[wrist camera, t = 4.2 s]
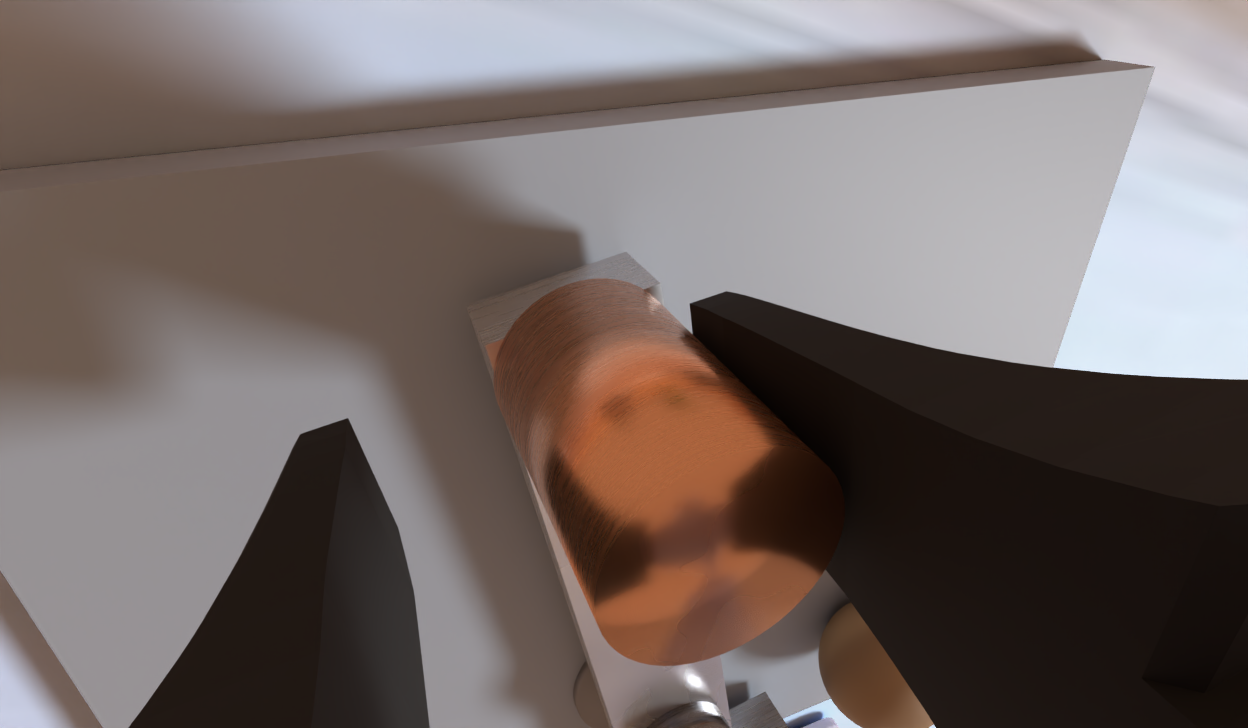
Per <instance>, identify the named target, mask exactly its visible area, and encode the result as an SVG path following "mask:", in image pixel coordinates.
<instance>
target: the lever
mask: <svg viewBox="0 0 1248 728" xmlns="http://www.w3.org/2000/svg"><path fill="white" fill-rule="evenodd" d="M466 308H467V311H468V314H469V317H470V319H471V322H472V325H473V328H474V331H475V334H476V337H477V340H478V343H479V346H480V349H481V352H482V355H483V358H484V361H485V364H486V366H487V369H488V372H489V375H490V378H491V381H492V384H493V387H494V392H495V396H496V400H497V403H498V406H499V408H500V410H501V412H502V415H503V417H504V419H505V422H506V425H507V428H508V431H509V434H510V437H511V440H512V443H513V446H514V449H515V452H516V455H517V457H518V460H519V463H520V466H521V469H522V472H523V475H524V478H525V481H526V484H527V487H528V490H529V493H530V496H531V499H532V502H533V504H534V507H535V510H536V513H537V516H538V519H539V522H540V525H541V528H542V531H543V534H544V537H545V540H546V543H547V546H548V549H549V551H550V554H551V557H552V560H553V563H554V566H555V569H556V572H557V575H558V578H559V581H560V584H561V587H562V590H563V593H564V596H565V598H566V601H567V604H568V607H569V610H570V613H571V616H572V619H573V622H574V625H575V628H576V631H577V634H578V637H579V640H580V642H581V645H582V648H583V651H584V654H585V657H586V660H587V663H588V666H589V669H590V672H591V675H592V678H593V681H594V684H595V687H596V689H597V692H598V695H599V698H600V701H601V704H602V707H603V710H604V713H605V716H606V719H607V722H608V725H609V728H788V726H787V725H786V723H785V722H784V720H783V718H782V717H781V715H780V714H779V712H778V711H777V709H776V707H775V706H774V704H773V703H772V701H771V700H770V698H769V696H768V695H767V693H766V692H763V693H761V694H759V695H757V696H755V697H753V698H751V699H750V700H748V701H746V702H744V703H742V704H740V705H738V706H736V707H734V708H732V709H730V710H729V706H728V700H727V694H726V688H725V682H724V675H723V669H722V663H721V657H720V655H722V654H724V653H726V652H729V651H731V650H733V649H735V648H738V647H739V646H741V645H743V644H745V643H747V642H749V641H751V640H752V639H754V638H755V637H757V636H759V635H760V634H762V633H763V632H765V631H766V630H768V629H769V628H770V627H772V626H773V625H774V624H776V623H777V622H778V621H780V620H781V619H782V618H783V617H784V616H785V615H787V614H788V613H789V612H790V611H791V610H792V609H793V608H794V607H795V606H796V605H797V604H798V603H799V602H800V601H801V600H802V599H803V598H804V597H805V596H806V595H807V594H808V592H809V591H810V590H811V589H812V588H813V587H814V585H815V584H816V582H817V581H818V580H819V578H820V577H821V576H822V574H823V572H824V571H825V569H826V567H827V566H828V564H829V562H830V561H831V559H832V557H833V554H834V552H835V550H836V548H837V545H838V542H839V540H840V537H841V533H842V529H843V524H844V515H845V504H844V496H843V492H842V488H841V485H840V483H839V481H838V479H837V477H836V475H835V474H834V473H833V472H832V470H831V469H830V468H829V467H828V466H827V465H826V464H825V463H824V462H823V461H822V460H821V459H820V458H819V457H818V456H817V455H816V454H815V453H814V452H813V451H812V450H811V449H810V448H809V447H808V446H807V445H806V444H805V443H804V442H803V441H802V440H801V439H800V438H799V437H798V436H796V435H795V434H794V433H793V432H792V431H791V430H790V429H789V428H788V427H787V426H786V425H785V424H784V423H783V422H782V421H781V420H780V419H779V418H778V417H777V416H776V415H775V414H774V413H773V412H772V411H771V410H770V409H769V408H768V407H767V406H766V405H765V404H764V403H763V402H762V401H761V400H760V399H758V398H757V397H756V396H755V395H754V394H753V393H752V392H751V391H750V390H749V389H748V388H747V387H746V386H745V385H744V384H743V383H742V382H741V381H740V380H739V379H738V378H737V377H736V376H735V375H734V374H733V373H732V372H731V371H730V370H729V369H728V368H727V367H726V366H725V365H724V364H723V363H722V362H721V361H719V360H718V359H717V358H716V357H715V356H714V355H713V354H712V353H711V352H710V351H709V350H708V349H707V348H706V347H705V346H704V345H703V344H702V343H701V342H700V341H699V340H698V339H697V338H696V337H695V336H694V335H693V334H692V333H691V332H690V331H689V330H688V329H687V328H686V327H685V326H684V325H683V324H681V323H680V322H679V321H678V320H677V319H676V318H675V317H674V316H673V315H672V314H671V313H670V312H669V311H668V310H667V309H666V308H665V307H664V301H663V295H662V289H661V283H660V282H659V281H658V280H656V279H655V278H654V277H653V276H652V275H651V274H650V273H649V272H648V271H647V270H646V269H644V268H643V267H642V266H641V265H640V264H639V263H638V262H637V261H636V260H635V259H634V258H633V257H631V256H630V255H629V254H628V253H627V252H623V253H620V254H617V255H615V256H612V257H609V258H606V259H603V260H600V261H597V262H594V263H591V264H588V265H585V266H582V267H579V268H576V269H573V270H570V271H567V272H564V273H561V274H558V275H555V276H553V277H550V278H547V279H544V280H541V281H538V282H535V283H532V284H529V285H526V286H523V287H520V288H517V289H514V290H511V291H508V292H505V293H502V294H499V295H496V296H493V297H490V298H488V299H485V300H482V301H479V302H476V303H473V304H470V305H467V306H466Z"/></svg>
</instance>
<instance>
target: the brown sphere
mask: <svg viewBox="0 0 1248 728" xmlns="http://www.w3.org/2000/svg"><path fill="white" fill-rule="evenodd" d="M818 661H819V669H820V674H821V677H822V681H823V684H824V686H825V688H826V691H827V693H828V694H829V696H830V698H831V699H832V701H833V702H834V704H835V705H836V706H837V707H838V709H839V710H840V711H841V712H842V713H843V714H844V715H845V716H846V717H848V718H849V719H850V720H851V721H853V722H854V723H855V724H857V725H859V726H861V727H862V728H929V727H930V726H932V725H933V724H934V723H933V722H932V720H931V719H930V717H929V716H928V714H927V712H926V711H925V709H924V708H923V706H922V705H921V703H920V702H919V700H918V699H917V698H916V696H915V695H914V693H913V692H912V690H911V689H910V687H909V686H908V684H907V683H906V681H905V680H904V678H903V677H902V675H901V674H900V672H899V671H898V669H897V668H896V666H895V665H894V663H893V662H892V660H891V659H890V657H889V656H888V654H887V653H886V651H885V650H884V648H883V647H882V646H881V644H880V643H879V641H878V640H877V638H876V637H875V636H874V634H873V633H872V631H871V630H870V629H869V627H868V626H867V624H866V623H865V621H864V620H863V619H862V617H861V616H860V614H859V613H858V612H857V610H856V609H855V607H854V606H853V604H852V603H851V602H850V603H848V604H846V605H845V606H843V607H842V608H841V609H839V610H838V611H837V612H836V613H835V614H834V615H833V616H832V618H831V619H830V620H829V622H828V623H827V625H826V627H825V629H824V631H823V633H822V637H821V640H820V644H819V652H818Z"/></svg>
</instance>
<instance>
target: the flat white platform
mask: <svg viewBox="0 0 1248 728" xmlns="http://www.w3.org/2000/svg"><path fill="white" fill-rule="evenodd" d="M1154 69H1155V67H1152V66H1145V65H1138V64H1131V63H1124V62H1117V61H1110V60H1096V61H1086V62H1076V63H1066V64H1056V65H1046V66H1036V67H1026V68H1016V69H1007V70H997V71H987V72H977V73H967V74H957V75H947V76H937V77H927V78H917V79H907V80H897V81H887V82H877V83H867V84H857V85H847V86H837V87H827V88H817V89H807V90H797V91H787V92H777V93H767V94H757V95H747V96H737V97H727V98H717V99H707V100H697V101H687V102H677V103H667V104H657V105H647V106H637V107H627V108H617V109H607V110H597V111H587V112H577V113H567V114H557V115H547V116H537V117H527V118H517V119H507V120H497V121H487V122H477V123H467V124H457V125H447V126H437V127H427V128H417V129H407V130H397V131H387V132H377V133H367V134H357V135H347V136H337V137H327V138H317V139H307V140H297V141H287V142H277V143H267V144H257V145H247V146H237V147H227V148H217V149H207V150H197V151H187V152H178V153H168V154H158V155H148V156H138V157H128V158H118V159H108V160H98V161H88V162H78V163H68V164H58V165H48V166H38V167H28V168H18V169H8V170H0V571H1V573H2V574H3V576H4V577H5V579H6V580H7V582H8V583H9V585H10V586H11V588H12V589H13V591H14V592H15V594H16V596H17V597H18V599H19V600H20V602H21V603H22V605H23V606H24V608H25V609H26V611H27V612H28V614H29V616H30V617H31V619H32V620H33V622H34V623H35V625H36V626H37V628H38V629H39V631H40V632H41V634H42V635H43V637H44V639H45V640H46V642H47V643H48V645H49V646H50V648H51V649H52V651H53V652H54V654H55V655H56V657H57V658H58V660H59V662H60V663H61V665H62V666H63V668H64V669H65V671H66V672H67V674H68V675H69V677H70V678H71V680H72V681H73V683H74V685H75V686H76V688H77V689H78V691H79V692H80V694H81V695H82V697H83V698H84V700H85V701H86V703H87V704H88V706H89V708H90V709H91V711H92V712H93V714H94V715H95V717H96V718H97V720H98V721H99V723H100V724H101V726H102V727H103V728H128V727H129V726H130V725H131V723H132V722H133V721H134V719H135V718H136V717H137V715H138V714H139V713H140V711H141V710H142V709H143V707H144V706H145V705H146V703H147V702H148V700H149V699H150V698H151V696H152V695H153V693H154V692H155V691H156V689H157V688H158V686H159V685H160V684H161V682H162V681H163V679H164V678H165V677H166V675H167V674H168V672H169V671H170V670H171V668H172V667H173V665H174V664H175V663H176V661H177V660H178V658H179V657H180V655H181V654H182V652H183V651H184V649H185V648H186V646H187V645H188V643H189V642H190V640H191V638H192V637H193V635H194V634H195V632H196V631H197V629H198V627H199V626H200V624H201V623H202V621H203V619H204V617H205V616H206V614H207V612H208V611H209V609H210V607H211V606H212V604H213V602H214V600H215V599H216V597H217V595H218V594H219V592H220V590H221V588H222V587H223V585H224V583H225V582H226V580H227V578H228V576H229V575H230V573H231V571H232V570H233V568H234V566H235V564H236V562H237V560H238V559H239V557H240V555H241V553H242V551H243V549H244V547H245V545H246V543H247V541H248V539H249V537H250V535H251V534H252V532H253V530H254V528H255V526H256V524H257V522H258V520H259V518H260V516H261V514H262V512H263V510H264V508H265V506H266V504H267V502H268V500H269V498H270V495H271V493H272V491H273V489H274V487H275V485H276V483H277V481H278V478H279V476H280V474H281V472H282V470H283V468H284V465H285V463H286V461H287V459H288V457H289V455H290V453H291V450H292V448H293V446H294V444H295V442H296V441H297V439H298V437H299V435H300V434H302V433H305V432H308V431H311V430H313V429H316V428H319V427H322V426H325V425H328V424H331V423H334V422H337V421H340V420H343V419H346V418H348V419H349V421H350V423H351V425H352V428H353V430H354V432H355V434H356V436H357V438H358V441H359V443H360V445H361V447H362V449H363V452H364V454H365V456H366V458H367V460H368V463H369V465H370V467H371V469H372V471H373V474H374V476H375V478H376V480H377V482H378V485H379V487H380V489H381V491H382V493H383V495H384V498H385V500H386V502H387V504H388V506H389V509H390V511H391V513H392V515H393V517H394V520H395V522H396V524H397V526H398V529H399V533H400V537H401V541H402V545H403V549H404V553H405V557H406V560H407V565H408V569H409V573H410V577H411V581H412V585H413V590H414V596H415V604H416V612H417V620H418V629H419V637H420V646H421V655H422V664H423V672H424V681H425V690H426V699H427V708H428V717H429V726H430V728H609V725H608V722H607V719H606V716H605V713H604V710H603V707H602V704H601V701H600V698H599V695H598V692H597V689H596V687H595V684H594V681H593V678H592V675H591V672H590V669H589V666H588V663H587V660H586V657H585V654H584V651H583V648H582V645H581V642H580V640H579V637H578V634H577V631H576V628H575V625H574V622H573V619H572V616H571V613H570V610H569V607H568V604H567V601H566V598H565V596H564V593H563V590H562V587H561V584H560V581H559V578H558V575H557V572H556V569H555V566H554V563H553V560H552V557H551V554H550V551H549V549H548V546H547V543H546V540H545V537H544V534H543V531H542V528H541V525H540V522H539V519H538V516H537V513H536V510H535V507H534V504H533V502H532V499H531V496H530V493H529V490H528V487H527V484H526V481H525V478H524V475H523V472H522V469H521V466H520V463H519V460H518V457H517V455H516V452H515V449H514V446H513V443H512V440H511V437H510V434H509V431H508V428H507V425H506V422H505V419H504V417H503V415H502V412H501V410H500V408H499V406H498V403H497V400H496V396H495V392H494V387H493V384H492V381H491V378H490V375H489V372H488V369H487V366H486V364H485V361H484V358H483V355H482V352H481V349H480V346H479V343H478V340H477V337H476V334H475V331H474V328H473V325H472V322H471V319H470V317H469V314H468V311H467V308H466V306H467V305H470V304H473V303H476V302H479V301H482V300H485V299H488V298H490V297H493V296H496V295H499V294H502V293H505V292H508V291H511V290H514V289H517V288H520V287H523V286H526V285H529V284H532V283H535V282H538V281H541V280H544V279H547V278H550V277H553V276H555V275H558V274H561V273H564V272H567V271H570V270H573V269H576V268H579V267H582V266H585V265H588V264H591V263H594V262H597V261H600V260H603V259H606V258H609V257H612V256H615V255H617V254H620V253H623V252H627V253H628V254H629V255H630V256H631V257H633V258H634V259H635V260H636V261H637V262H638V263H639V264H640V265H641V266H642V267H643V268H644V269H646V270H647V271H648V272H649V273H650V274H651V275H652V276H653V277H654V278H655V279H656V280H658V281H659V282H660V283H661V289H662V295H663V301H664V307H665V308H666V309H667V310H668V311H669V312H670V313H671V314H672V315H673V316H674V317H675V318H676V319H677V320H678V321H679V322H680V323H681V324H683V325H684V326H685V327H686V328H687V329H688V330H689V331H690V332H691V333H692V334H693V332H692V323H691V313H690V303H693V302H696V301H699V300H702V299H705V298H708V297H711V296H714V295H717V294H720V293H723V292H726V291H728V292H733V293H738V294H742V295H746V296H750V297H753V298H757V299H760V300H764V301H767V302H770V303H774V304H777V305H780V306H783V307H787V308H790V309H793V310H796V311H800V312H803V313H806V314H809V315H813V316H816V317H819V318H823V319H826V320H829V321H833V322H836V323H839V324H843V325H846V326H850V327H853V328H857V329H860V330H864V331H868V332H871V333H875V334H879V335H882V336H886V337H890V338H894V339H898V340H903V341H907V342H911V343H915V344H919V345H923V346H927V347H932V348H936V349H941V350H946V351H951V352H956V353H961V354H967V355H973V356H978V357H984V358H990V359H996V360H1002V361H1007V362H1013V363H1020V364H1028V365H1035V366H1043V367H1051V368H1053V366H1054V363H1055V360H1056V357H1057V354H1058V351H1059V348H1060V345H1061V342H1062V339H1063V336H1064V333H1065V330H1066V327H1067V325H1068V322H1069V319H1070V316H1071V313H1072V310H1073V307H1074V304H1075V301H1076V298H1077V295H1078V292H1079V289H1080V286H1081V283H1082V281H1083V278H1084V275H1085V272H1086V269H1087V266H1088V263H1089V260H1090V257H1091V254H1092V251H1093V248H1094V245H1095V242H1096V239H1097V236H1098V234H1099V231H1100V228H1101V225H1102V222H1103V219H1104V216H1105V213H1106V210H1107V207H1108V204H1109V201H1110V198H1111V195H1112V192H1113V190H1114V187H1115V184H1116V181H1117V178H1118V175H1119V172H1120V169H1121V166H1122V163H1123V160H1124V157H1125V154H1126V151H1127V148H1128V146H1129V143H1130V140H1131V137H1132V134H1133V131H1134V128H1135V125H1136V122H1137V119H1138V116H1139V113H1140V110H1141V107H1142V104H1143V101H1144V99H1145V96H1146V93H1147V90H1148V87H1149V84H1150V81H1151V78H1152V75H1153V72H1154ZM848 603H850V600H849V599H848V597H847V596H846V595H845V593H844V592H843V591H842V590H841V588H840V587H839V586H838V585H837V583H836V582H835V581H834V580H833V578H832V577H831V576H830V575H829V573H828V572H827V571H826V570H825V571H824V572H823V574H822V576H821V577H820V578H819V580H818V581H817V582H816V584H815V585H814V587H813V588H812V589H811V590H810V591H809V592H808V594H807V595H806V596H805V597H804V598H803V599H802V600H801V601H800V602H799V603H798V604H797V605H796V606H795V607H794V608H793V609H792V610H791V611H790V612H789V613H788V614H787V615H785V616H784V617H783V618H782V619H781V620H780V621H778V622H777V623H776V624H774V625H773V626H772V627H770V628H769V629H768V630H766V631H765V632H763V633H762V634H760V635H759V636H757V637H755V638H754V639H752V640H751V641H749V642H747V643H745V644H743V645H741V646H739V647H738V648H735V649H733V650H731V651H729V652H726V653H724V654H722V655H720V657H721V663H722V669H723V675H724V682H725V688H726V694H727V700H728V706H729V710H730V709H732V708H734V707H736V706H738V705H740V704H742V703H744V702H746V701H748V700H750V699H751V698H753V697H755V696H757V695H759V694H761V693H763V692H766V693H767V695H768V696H769V698H770V700H771V701H772V703H773V704H774V706H775V707H776V709H777V711H778V712H779V714H780V715H781V717H782V718H785V717H788V716H790V715H792V714H795V713H797V712H799V711H802V710H804V709H807V708H809V707H811V706H814V705H816V704H819V703H821V702H823V701H826V700H828V699H831V698H830V696H829V694H828V693H827V691H826V688H825V686H824V684H823V681H822V677H821V674H820V669H819V661H818V652H819V644H820V640H821V637H822V633H823V631H824V629H825V627H826V625H827V623H828V622H829V620H830V619H831V618H832V616H833V615H834V614H835V613H836V612H837V611H838V610H839V609H841V608H842V607H843V606H845V605H846V604H848Z"/></svg>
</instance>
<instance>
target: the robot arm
mask: <svg viewBox="0 0 1248 728" xmlns="http://www.w3.org/2000/svg"><path fill="white" fill-rule="evenodd" d="M690 313H691V323H692V332H693V335H694V336H695V337H696V338H697V339H698V340H699V341H700V342H701V343H702V344H703V345H704V346H705V347H706V348H707V349H708V350H709V351H710V352H711V353H712V354H713V355H714V356H715V357H716V358H717V359H718V360H719V361H721V362H722V363H723V364H724V365H725V366H726V367H727V368H728V369H729V370H730V371H731V372H732V373H733V374H734V375H735V376H736V377H737V378H738V379H739V380H740V381H741V382H742V383H743V384H744V385H745V386H746V387H747V388H748V389H749V390H750V391H751V392H752V393H753V394H754V395H755V396H756V397H757V398H758V399H760V400H761V401H762V402H763V403H764V404H765V405H766V406H767V407H768V408H769V409H770V410H771V411H772V412H773V413H774V414H775V415H776V416H777V417H778V418H779V419H780V420H781V421H782V422H783V423H784V424H785V425H786V426H787V427H788V428H789V429H790V430H791V431H792V432H793V433H794V434H795V435H796V436H798V437H799V438H800V439H801V440H802V441H803V442H804V443H805V444H806V445H807V446H808V447H809V448H810V449H811V450H812V451H813V452H814V453H815V454H816V455H817V456H818V457H819V458H820V459H821V460H822V461H823V462H824V463H825V464H826V465H827V466H828V467H829V468H830V469H831V470H832V472H833V473H834V474H835V475H836V477H837V479H838V481H839V483H840V485H841V488H842V492H843V496H844V504H845V515H844V524H843V529H842V533H841V537H840V540H839V542H838V545H837V548H836V550H835V552H834V554H833V557H832V559H831V561H830V562H829V564H828V566H827V567H826V569H825V570H826V571H827V572H828V573H829V575H830V576H831V577H832V578H833V580H834V581H835V582H836V583H837V585H838V586H839V587H840V588H841V590H842V591H843V592H844V593H845V595H846V596H847V597H848V599H849V600H850V602H851V603H852V604H853V606H854V607H855V609H856V610H857V612H858V613H859V614H860V616H861V617H862V619H863V620H864V621H865V623H866V624H867V626H868V627H869V629H870V630H871V631H872V633H873V634H874V636H875V637H876V638H877V640H878V641H879V643H880V644H881V646H882V647H883V648H884V650H885V651H886V653H887V654H888V656H889V657H890V659H891V660H892V662H893V663H894V665H895V666H896V668H897V669H898V671H899V672H900V674H901V675H902V677H903V678H904V680H905V681H906V683H907V684H908V686H909V687H910V689H911V690H912V692H913V693H914V695H915V696H916V698H917V699H918V700H919V702H920V703H921V705H922V706H923V708H924V709H925V711H926V712H927V714H928V716H929V717H930V719H931V720H932V722H933V723H934V725H935V727H936V728H1248V380H1229V379H1201V378H1175V377H1153V376H1138V375H1123V374H1110V373H1100V372H1090V371H1080V370H1070V369H1061V368H1051V367H1043V366H1035V365H1028V364H1020V363H1013V362H1007V361H1002V360H996V359H990V358H984V357H978V356H973V355H967V354H961V353H956V352H951V351H946V350H941V349H936V348H932V347H927V346H923V345H919V344H915V343H911V342H907V341H903V340H898V339H894V338H890V337H886V336H882V335H879V334H875V333H871V332H868V331H864V330H860V329H857V328H853V327H850V326H846V325H843V324H839V323H836V322H833V321H829V320H826V319H823V318H819V317H816V316H813V315H809V314H806V313H803V312H800V311H796V310H793V309H790V308H787V307H783V306H780V305H777V304H774V303H770V302H767V301H764V300H760V299H757V298H753V297H750V296H746V295H742V294H738V293H733V292H728V291H726V292H723V293H720V294H717V295H714V296H711V297H708V298H705V299H702V300H699V301H696V302H693V303H690ZM128 728H430V726H429V717H428V708H427V699H426V690H425V681H424V672H423V664H422V655H421V646H420V637H419V629H418V620H417V612H416V604H415V596H414V590H413V585H412V581H411V577H410V573H409V569H408V565H407V560H406V557H405V553H404V549H403V545H402V541H401V537H400V533H399V529H398V526H397V524H396V522H395V520H394V517H393V515H392V513H391V511H390V509H389V506H388V504H387V502H386V500H385V498H384V495H383V493H382V491H381V489H380V487H379V485H378V482H377V480H376V478H375V476H374V474H373V471H372V469H371V467H370V465H369V463H368V460H367V458H366V456H365V454H364V452H363V449H362V447H361V445H360V443H359V441H358V438H357V436H356V434H355V432H354V430H353V428H352V425H351V423H350V421H349V419H348V418H346V419H343V420H340V421H337V422H334V423H331V424H328V425H325V426H322V427H319V428H316V429H313V430H311V431H308V432H305V433H302V434H300V435H299V437H298V439H297V441H296V442H295V444H294V446H293V448H292V450H291V453H290V455H289V457H288V459H287V461H286V463H285V465H284V468H283V470H282V472H281V474H280V476H279V478H278V481H277V483H276V485H275V487H274V489H273V491H272V493H271V495H270V498H269V500H268V502H267V504H266V506H265V508H264V510H263V512H262V514H261V516H260V518H259V520H258V522H257V524H256V526H255V528H254V530H253V532H252V534H251V535H250V537H249V539H248V541H247V543H246V545H245V547H244V549H243V551H242V553H241V555H240V557H239V559H238V560H237V562H236V564H235V566H234V568H233V570H232V571H231V573H230V575H229V576H228V578H227V580H226V582H225V583H224V585H223V587H222V588H221V590H220V592H219V594H218V595H217V597H216V599H215V600H214V602H213V604H212V606H211V607H210V609H209V611H208V612H207V614H206V616H205V617H204V619H203V621H202V623H201V624H200V626H199V627H198V629H197V631H196V632H195V634H194V635H193V637H192V638H191V640H190V642H189V643H188V645H187V646H186V648H185V649H184V651H183V652H182V654H181V655H180V657H179V658H178V660H177V661H176V663H175V664H174V665H173V667H172V668H171V670H170V671H169V672H168V674H167V675H166V677H165V678H164V679H163V681H162V682H161V684H160V685H159V686H158V688H157V689H156V691H155V692H154V693H153V695H152V696H151V698H150V699H149V700H148V702H147V703H146V705H145V706H144V707H143V709H142V710H141V711H140V713H139V714H138V715H137V717H136V718H135V719H134V721H133V722H132V723H131V725H130V726H129V727H128ZM802 728H838V725H837V724H836V722H835V721H834V720H833V719H832V718H823V719H821V720H819V721H816V722H814V723H812V724H809V725H807V726H805V727H802Z"/></svg>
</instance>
